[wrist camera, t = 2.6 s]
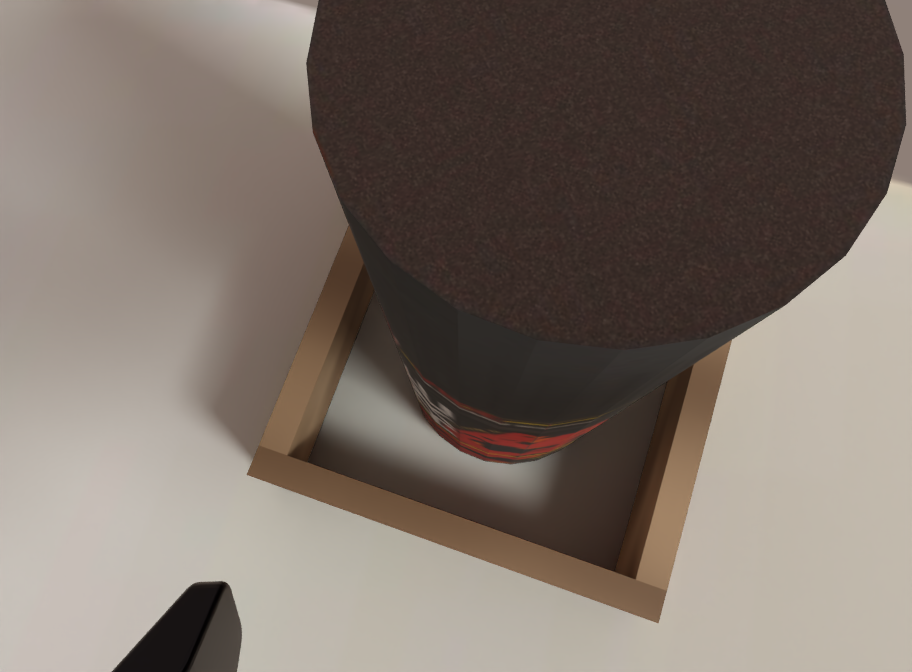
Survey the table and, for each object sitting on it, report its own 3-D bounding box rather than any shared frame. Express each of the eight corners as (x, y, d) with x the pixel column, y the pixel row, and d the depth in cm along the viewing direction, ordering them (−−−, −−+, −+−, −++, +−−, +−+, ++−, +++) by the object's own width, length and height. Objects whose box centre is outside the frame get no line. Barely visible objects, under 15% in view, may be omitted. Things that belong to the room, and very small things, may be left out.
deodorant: (374, 402, 21) (189, 163, 7) (470, 240, 23) (487, -253, 8) (549, 501, 21) (759, 473, 6) (638, 328, 22) (991, -40, 7)
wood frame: (634, 609, 20) (658, 623, 17) (272, 479, 21) (246, 474, 18) (728, 259, 22) (760, 228, 20) (400, 156, 23) (393, 115, 21)
